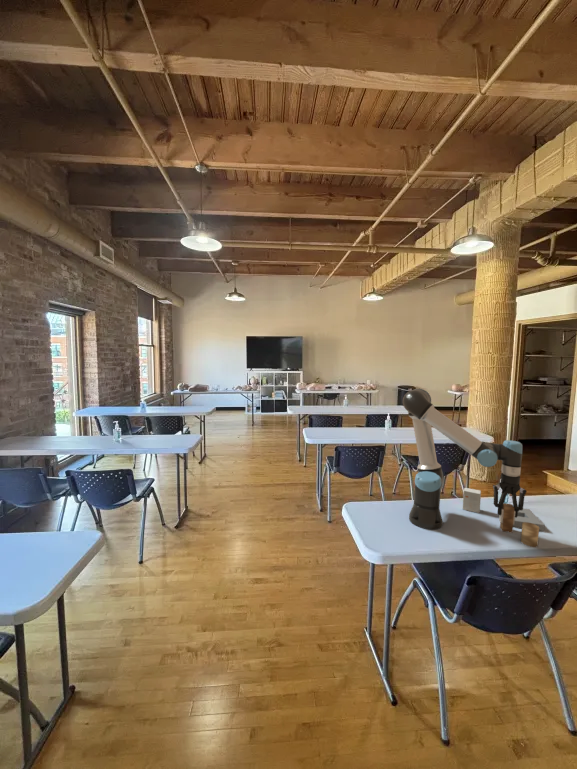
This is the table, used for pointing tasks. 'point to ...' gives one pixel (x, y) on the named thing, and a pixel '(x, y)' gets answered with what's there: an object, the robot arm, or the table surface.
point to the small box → (471, 500)
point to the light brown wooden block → (529, 534)
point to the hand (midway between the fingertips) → (506, 522)
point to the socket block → (527, 519)
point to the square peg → (507, 518)
